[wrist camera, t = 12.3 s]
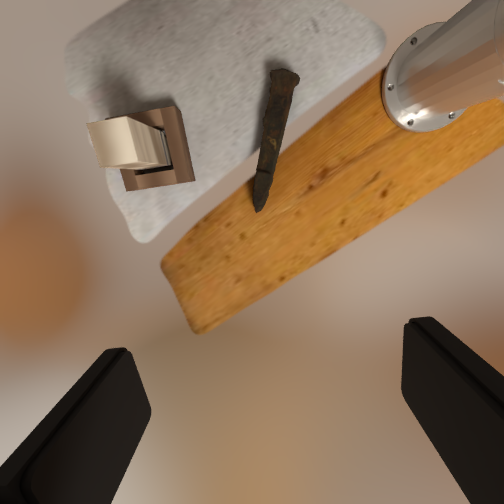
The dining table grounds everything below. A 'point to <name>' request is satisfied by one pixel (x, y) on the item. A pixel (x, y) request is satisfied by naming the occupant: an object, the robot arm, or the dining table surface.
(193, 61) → the dining table surface
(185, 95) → the dining table surface
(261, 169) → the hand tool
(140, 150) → the peg
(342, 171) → the dining table surface
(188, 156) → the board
